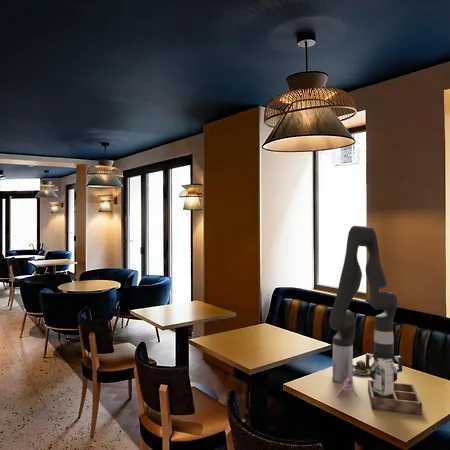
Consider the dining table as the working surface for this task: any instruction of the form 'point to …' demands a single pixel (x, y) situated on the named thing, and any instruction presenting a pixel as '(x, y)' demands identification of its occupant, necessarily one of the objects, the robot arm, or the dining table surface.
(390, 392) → the syrup box
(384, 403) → the caddy
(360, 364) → the burger
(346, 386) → the lily
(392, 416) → the dining table surface
